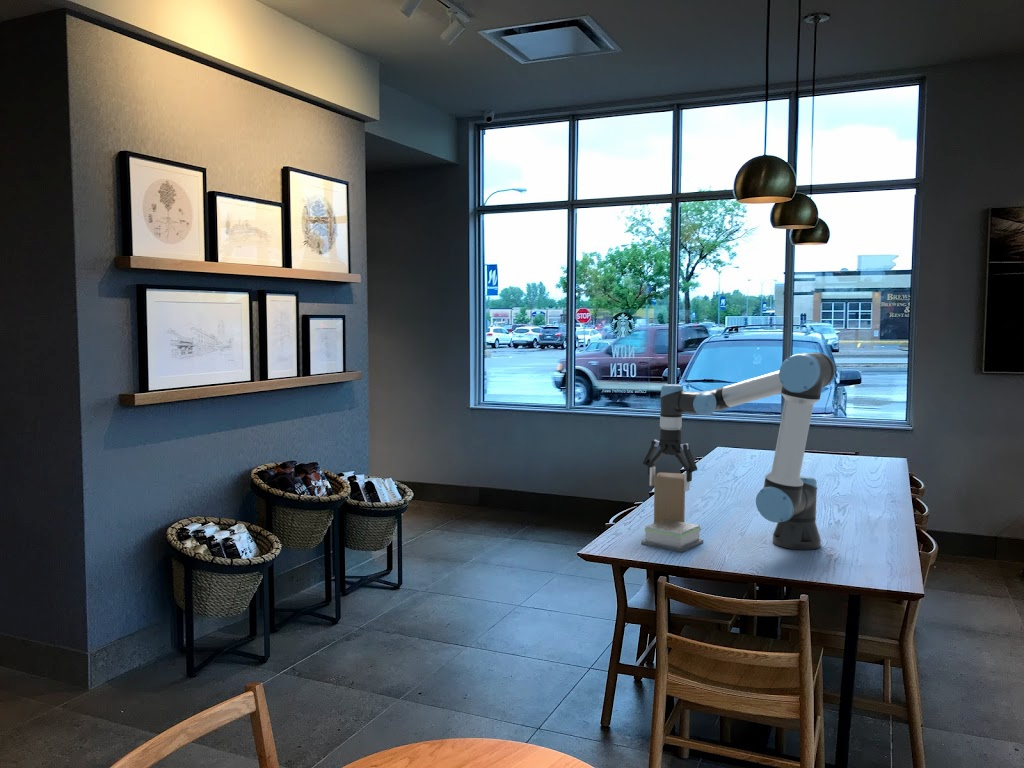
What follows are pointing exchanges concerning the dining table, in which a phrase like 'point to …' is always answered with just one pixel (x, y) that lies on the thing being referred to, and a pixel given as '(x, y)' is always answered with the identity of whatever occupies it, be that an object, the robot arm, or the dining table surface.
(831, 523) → the dining table surface
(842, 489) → the dining table surface
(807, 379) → the robot arm
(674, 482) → the wooden block
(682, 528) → the stand
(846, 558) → the dining table surface
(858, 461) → the dining table surface
